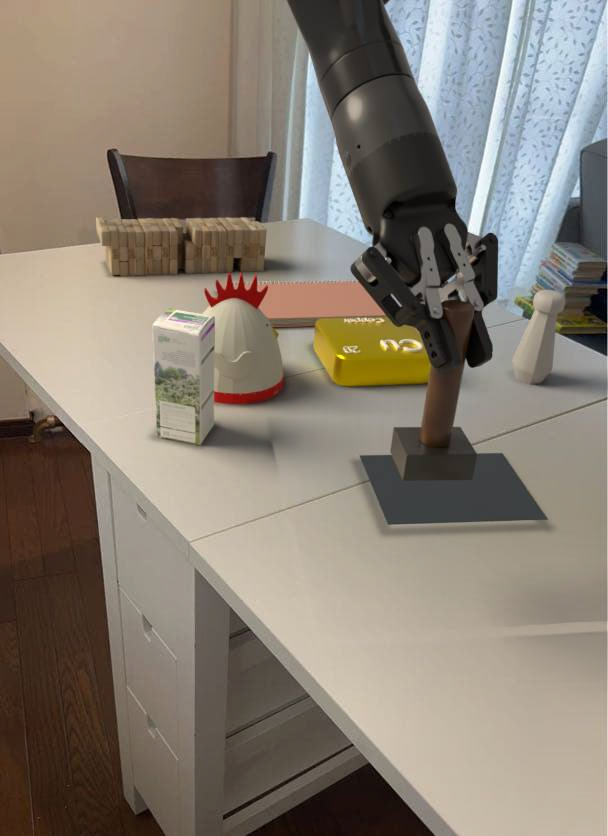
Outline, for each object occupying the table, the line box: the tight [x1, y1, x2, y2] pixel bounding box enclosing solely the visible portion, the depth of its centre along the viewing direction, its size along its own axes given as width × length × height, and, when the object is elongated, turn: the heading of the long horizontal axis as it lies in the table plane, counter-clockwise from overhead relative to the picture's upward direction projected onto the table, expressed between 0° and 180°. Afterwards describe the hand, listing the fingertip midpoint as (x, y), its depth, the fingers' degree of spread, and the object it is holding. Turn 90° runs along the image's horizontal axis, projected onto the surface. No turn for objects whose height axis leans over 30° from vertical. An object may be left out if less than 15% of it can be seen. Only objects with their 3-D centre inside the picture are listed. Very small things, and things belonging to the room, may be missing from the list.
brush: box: [390, 300, 477, 481], centre depth 64 cm, size 6×5×14 cm
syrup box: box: [151, 308, 215, 446], centre depth 94 cm, size 6×6×14 cm
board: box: [359, 452, 548, 525], centre depth 91 cm, size 18×14×1 cm
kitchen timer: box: [202, 272, 285, 405], centre depth 106 cm, size 14×14×15 cm
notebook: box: [220, 279, 387, 328], centre depth 134 cm, size 27×17×2 cm, turn 105°
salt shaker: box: [511, 289, 566, 385], centre depth 115 cm, size 6×6×13 cm
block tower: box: [95, 217, 268, 277], centre depth 144 cm, size 8×8×29 cm
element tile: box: [312, 317, 431, 388], centre depth 117 cm, size 15×15×5 cm
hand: (466, 366), depth 61 cm, fingers closed on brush, 2 cm apart
